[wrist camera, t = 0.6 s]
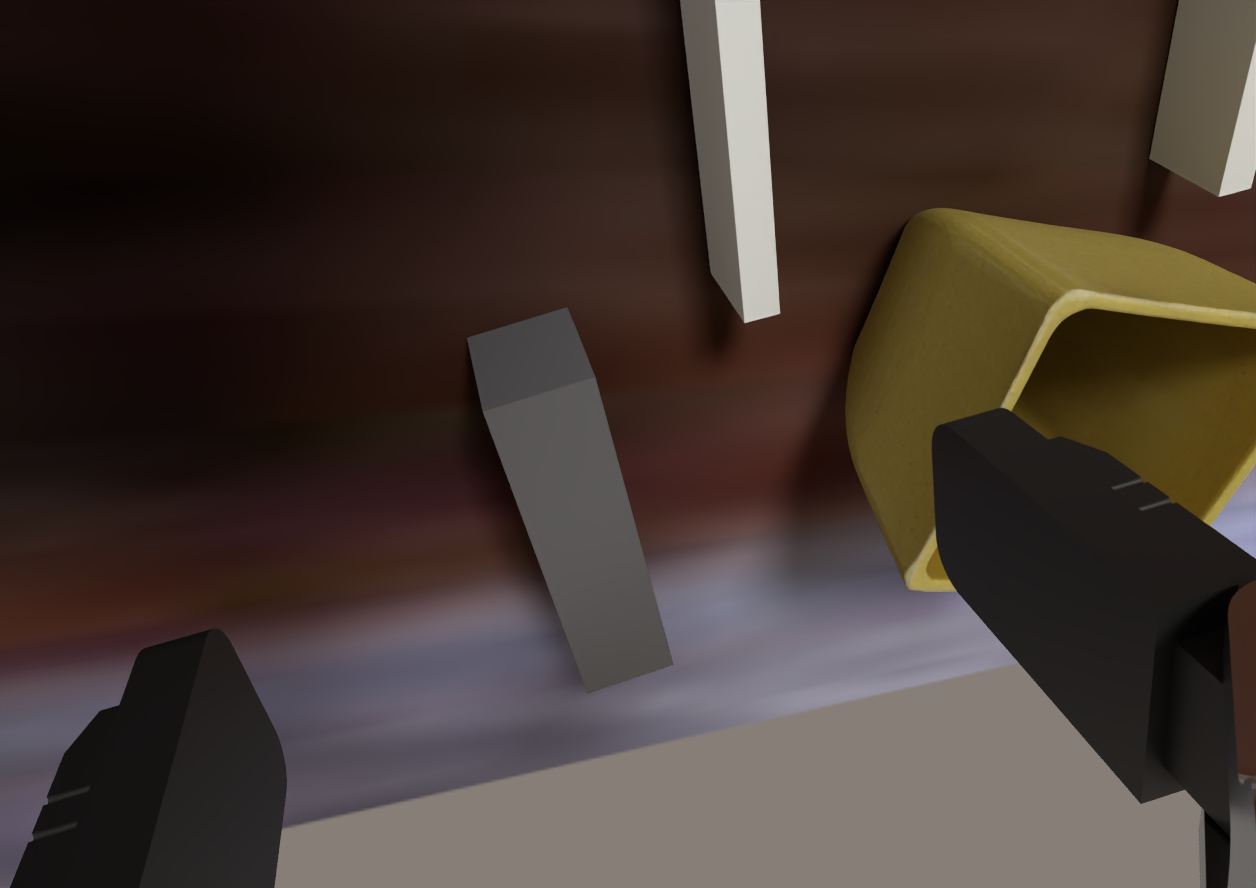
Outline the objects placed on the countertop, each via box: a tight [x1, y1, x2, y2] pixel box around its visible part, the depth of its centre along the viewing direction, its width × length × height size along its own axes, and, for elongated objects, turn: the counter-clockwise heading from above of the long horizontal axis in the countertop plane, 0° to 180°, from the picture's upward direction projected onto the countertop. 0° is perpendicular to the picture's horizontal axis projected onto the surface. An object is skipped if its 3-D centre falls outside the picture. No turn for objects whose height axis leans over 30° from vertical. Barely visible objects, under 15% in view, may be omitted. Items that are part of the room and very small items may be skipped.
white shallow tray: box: [680, 0, 1256, 323], centre depth 24 cm, size 12×15×3 cm
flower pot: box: [845, 208, 1256, 592], centre depth 28 cm, size 9×9×9 cm
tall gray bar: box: [467, 307, 673, 693], centre depth 30 cm, size 12×3×4 cm, turn 12°
